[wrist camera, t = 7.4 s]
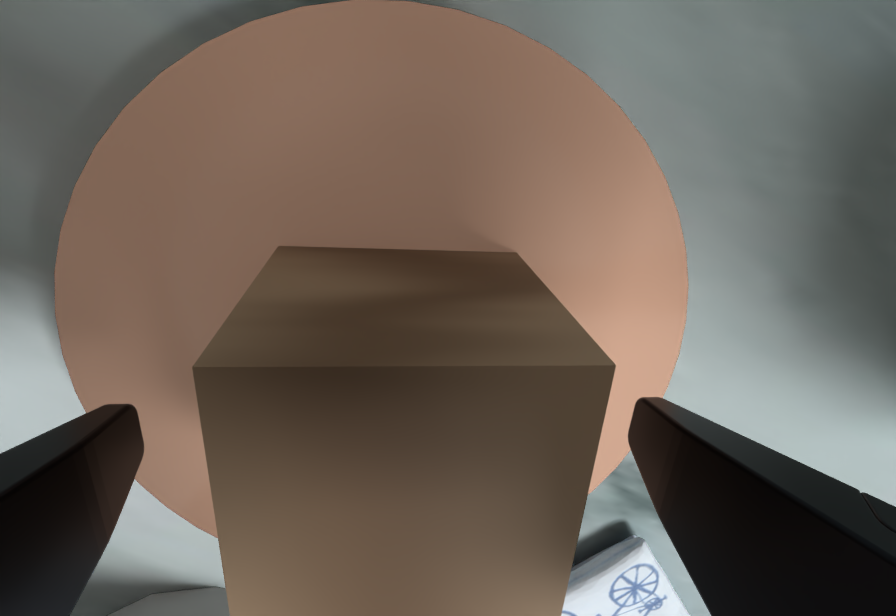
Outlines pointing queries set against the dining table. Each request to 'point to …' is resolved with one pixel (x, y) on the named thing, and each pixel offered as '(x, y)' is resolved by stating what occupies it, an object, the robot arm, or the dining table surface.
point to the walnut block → (399, 435)
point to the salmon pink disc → (356, 203)
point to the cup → (180, 604)
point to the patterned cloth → (621, 584)
